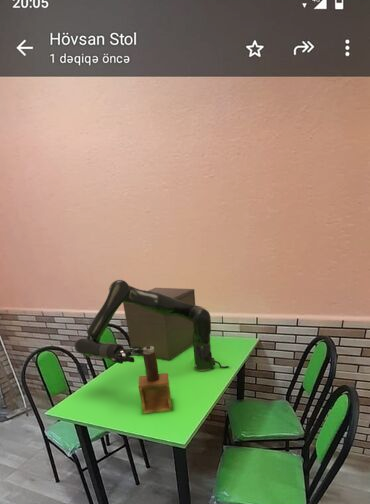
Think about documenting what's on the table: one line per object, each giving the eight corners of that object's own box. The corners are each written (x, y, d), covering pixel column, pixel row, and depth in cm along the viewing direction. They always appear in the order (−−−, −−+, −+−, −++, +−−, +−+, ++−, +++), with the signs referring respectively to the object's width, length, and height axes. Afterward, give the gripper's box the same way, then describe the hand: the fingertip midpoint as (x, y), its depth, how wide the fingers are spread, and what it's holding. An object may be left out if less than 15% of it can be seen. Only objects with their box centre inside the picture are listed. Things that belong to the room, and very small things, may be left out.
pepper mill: (159, 375, 149) (154, 342, 141) (159, 381, 145) (154, 347, 137) (147, 377, 149) (141, 344, 141) (147, 382, 145) (141, 348, 137)
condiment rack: (171, 399, 158) (167, 372, 151) (172, 410, 150) (168, 382, 143) (143, 402, 158) (139, 376, 151) (143, 413, 150) (138, 385, 142)
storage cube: (169, 361, 199) (162, 302, 182) (132, 354, 214) (122, 299, 196) (198, 341, 224) (194, 288, 206) (162, 337, 238) (156, 287, 220)
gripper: (99, 349, 145) (128, 354, 137) (120, 338, 155) (148, 342, 147) (102, 365, 149) (131, 370, 141) (123, 353, 159) (150, 358, 151)
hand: (139, 356), depth 144 cm, fingers open, 8 cm apart
